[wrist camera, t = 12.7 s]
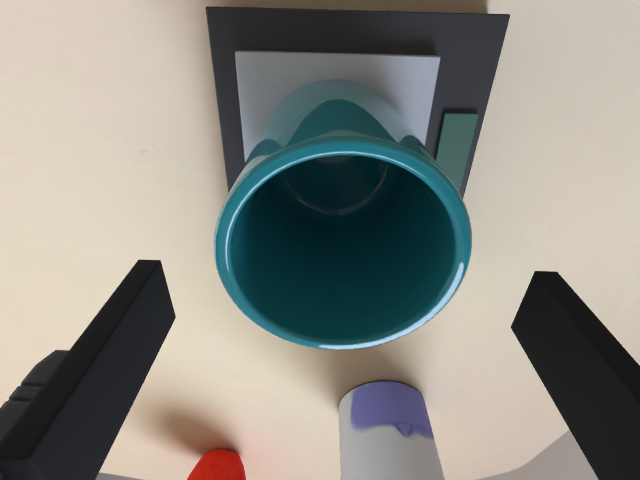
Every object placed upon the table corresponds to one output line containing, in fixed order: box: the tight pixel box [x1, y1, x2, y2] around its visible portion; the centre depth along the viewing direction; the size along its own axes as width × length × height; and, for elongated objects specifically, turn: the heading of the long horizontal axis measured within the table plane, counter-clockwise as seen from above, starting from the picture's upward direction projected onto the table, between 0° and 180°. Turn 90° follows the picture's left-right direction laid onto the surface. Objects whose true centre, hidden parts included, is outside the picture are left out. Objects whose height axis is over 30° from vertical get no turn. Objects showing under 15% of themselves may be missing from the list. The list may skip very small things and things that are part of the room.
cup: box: [214, 80, 472, 350], centre depth 18 cm, size 9×12×11 cm
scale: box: [206, 6, 510, 199], centre depth 24 cm, size 18×16×4 cm
